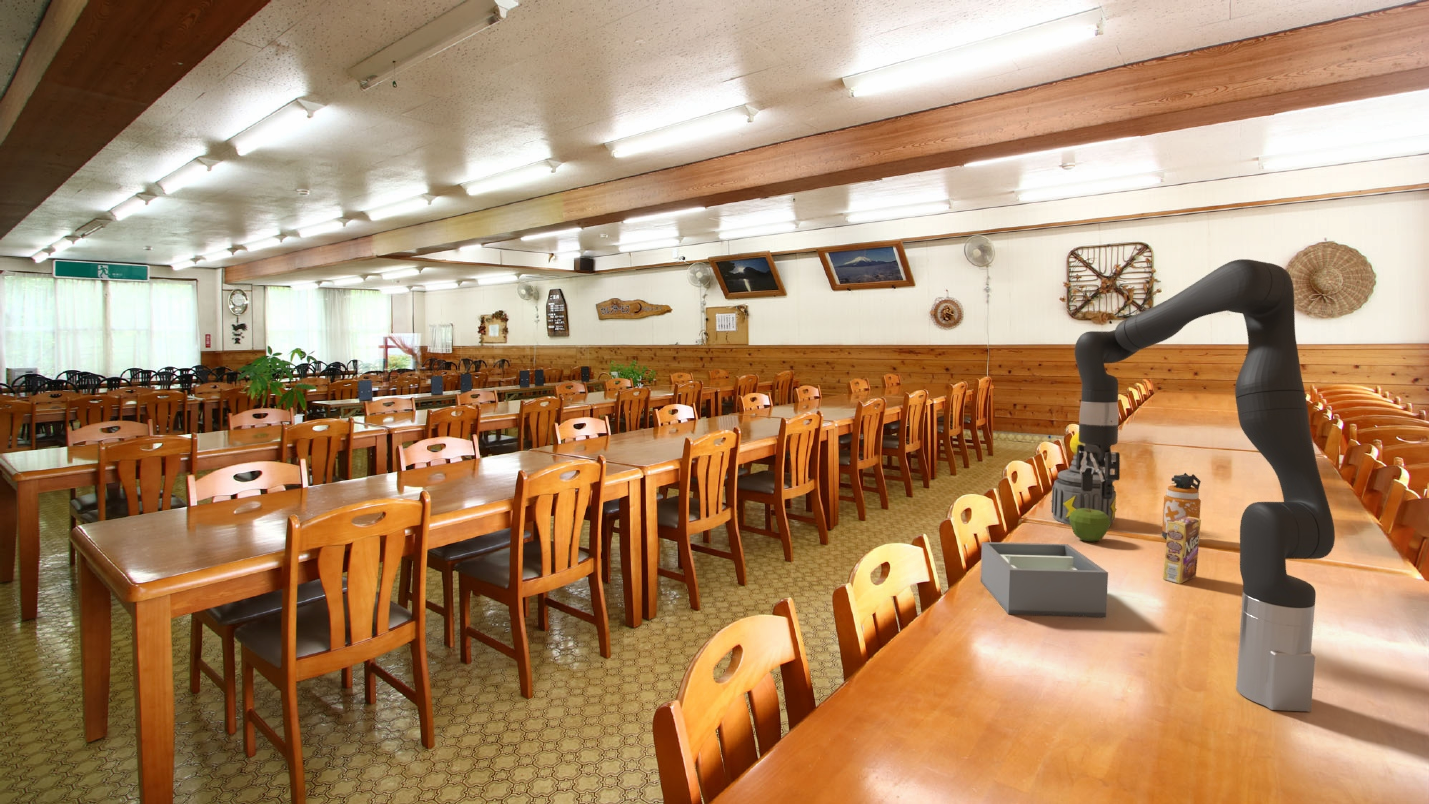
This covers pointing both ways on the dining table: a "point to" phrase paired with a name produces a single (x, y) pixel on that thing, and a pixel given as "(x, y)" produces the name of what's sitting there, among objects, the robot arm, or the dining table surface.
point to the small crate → (1040, 562)
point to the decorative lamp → (1078, 492)
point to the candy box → (1181, 549)
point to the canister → (1181, 500)
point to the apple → (1089, 524)
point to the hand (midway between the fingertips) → (1095, 494)
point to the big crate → (1044, 582)
